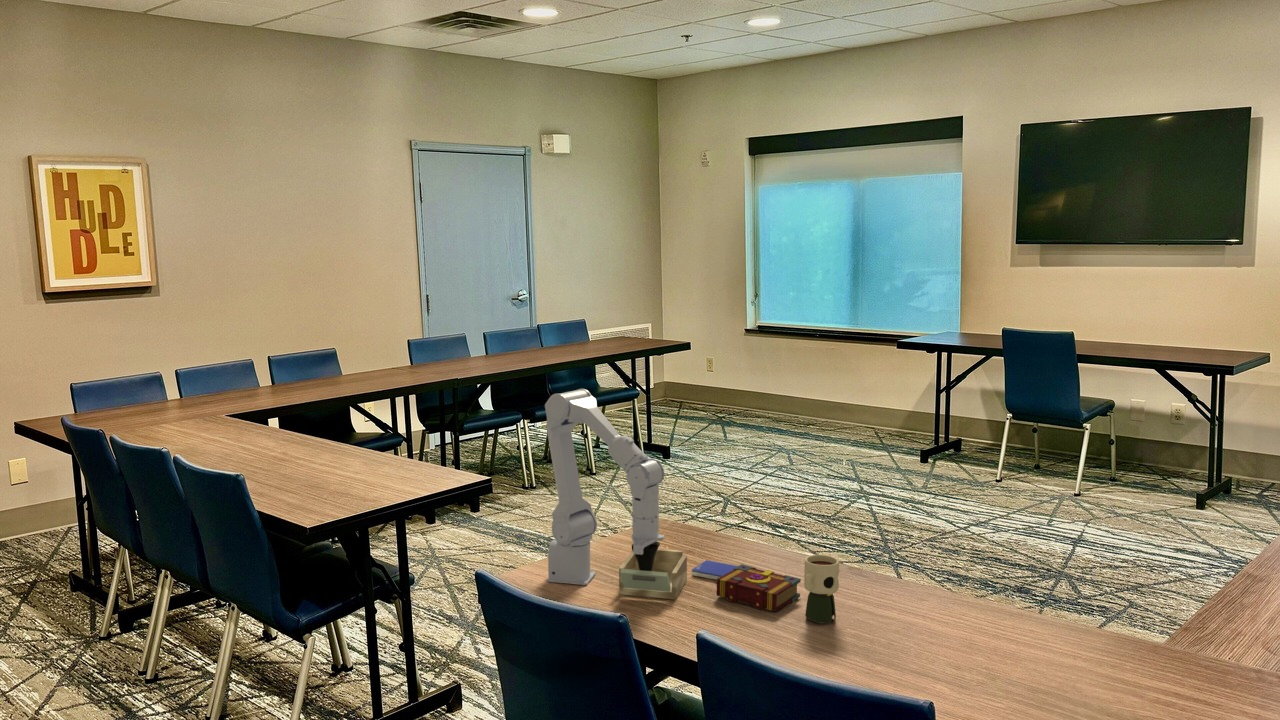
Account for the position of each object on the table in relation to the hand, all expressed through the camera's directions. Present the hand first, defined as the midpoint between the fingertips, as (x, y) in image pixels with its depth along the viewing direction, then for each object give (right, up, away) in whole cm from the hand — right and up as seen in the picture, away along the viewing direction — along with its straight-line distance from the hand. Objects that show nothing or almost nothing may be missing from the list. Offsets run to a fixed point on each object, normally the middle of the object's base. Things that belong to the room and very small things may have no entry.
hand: (645, 575), depth 215 cm
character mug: (+36, -7, -10) cm, 38 cm away
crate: (+2, -4, +8) cm, 10 cm away
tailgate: (0, -4, +2) cm, 4 cm away
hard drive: (+18, -4, +15) cm, 24 cm away
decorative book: (+24, -5, +2) cm, 25 cm away
